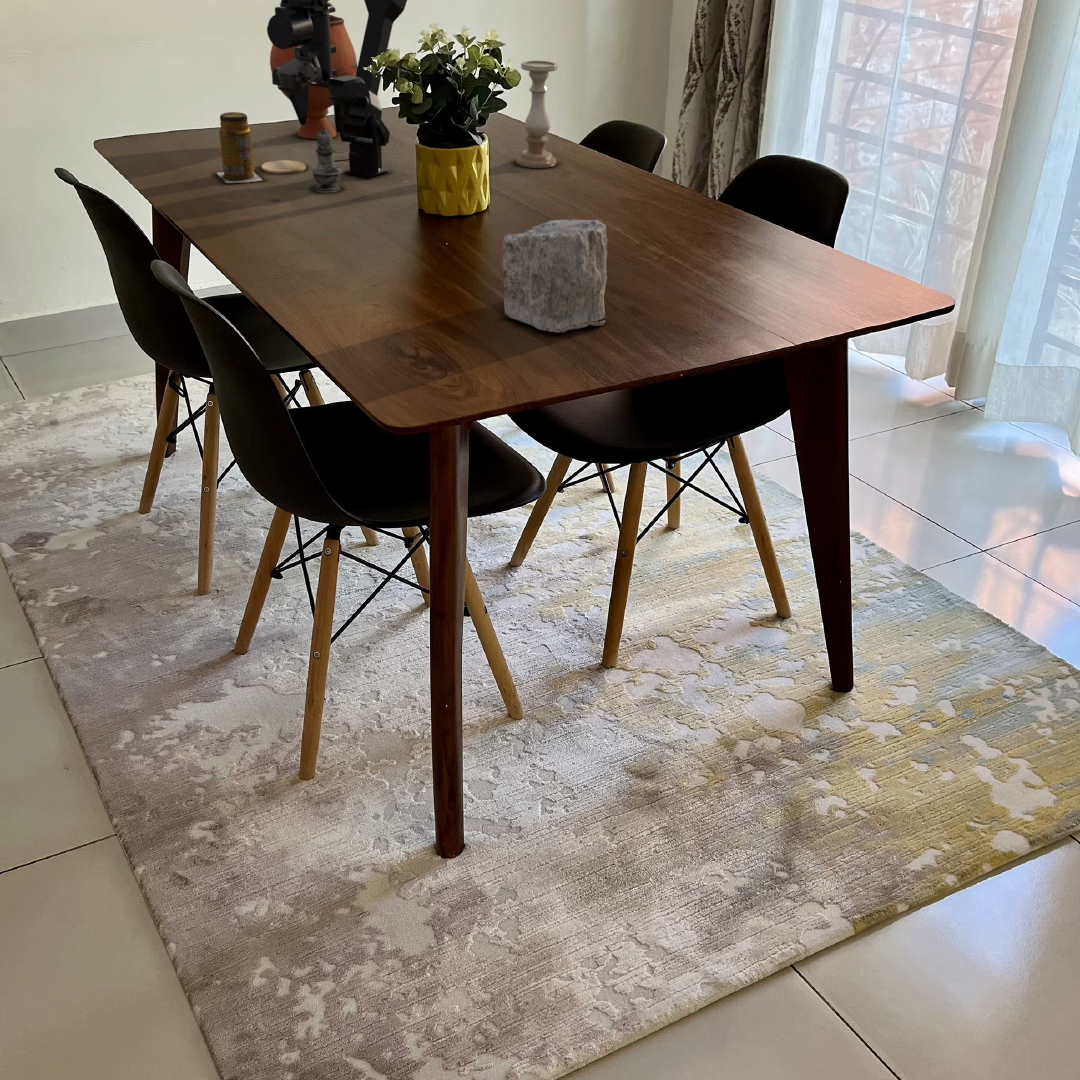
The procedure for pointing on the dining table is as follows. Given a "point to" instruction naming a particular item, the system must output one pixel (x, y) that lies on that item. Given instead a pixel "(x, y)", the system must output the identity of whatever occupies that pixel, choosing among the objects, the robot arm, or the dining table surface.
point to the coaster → (283, 167)
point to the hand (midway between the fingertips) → (321, 128)
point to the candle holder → (537, 118)
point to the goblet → (318, 95)
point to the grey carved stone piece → (326, 165)
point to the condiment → (236, 149)
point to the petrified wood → (556, 274)
